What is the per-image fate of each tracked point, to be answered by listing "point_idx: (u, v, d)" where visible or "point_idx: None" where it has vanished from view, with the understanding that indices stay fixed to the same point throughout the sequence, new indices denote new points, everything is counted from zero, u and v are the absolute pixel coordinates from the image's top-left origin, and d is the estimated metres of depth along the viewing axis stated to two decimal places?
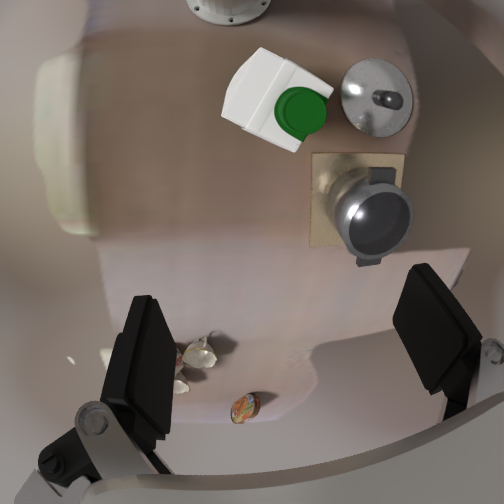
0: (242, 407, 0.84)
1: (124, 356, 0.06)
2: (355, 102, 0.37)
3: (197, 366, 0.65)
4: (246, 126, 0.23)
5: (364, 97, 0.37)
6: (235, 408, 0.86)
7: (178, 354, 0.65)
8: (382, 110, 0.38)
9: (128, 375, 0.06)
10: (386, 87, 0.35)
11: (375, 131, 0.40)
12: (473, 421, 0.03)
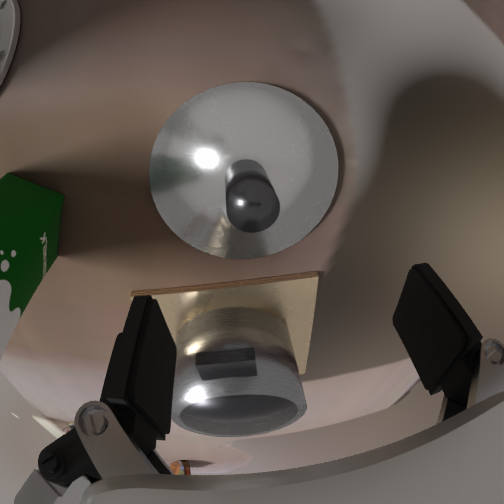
0: (176, 470, 0.67)
1: (124, 356, 0.06)
2: (186, 202, 0.20)
3: None
4: None
5: (205, 186, 0.19)
6: (172, 469, 0.70)
7: None
8: None
9: (127, 375, 0.06)
10: (262, 150, 0.18)
11: (243, 249, 0.23)
12: (473, 421, 0.03)
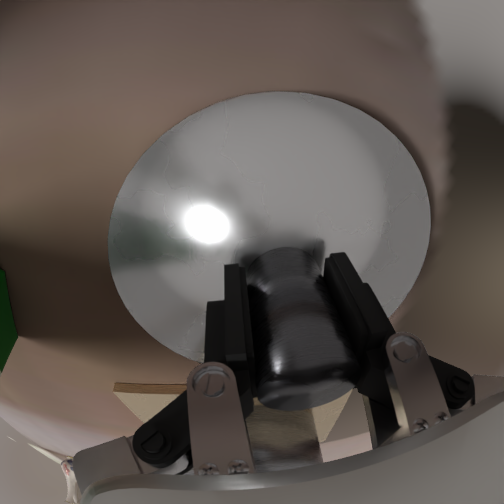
0: None
1: (234, 315, 0.08)
2: (178, 311, 0.12)
3: None
4: None
5: (210, 290, 0.11)
6: None
7: None
8: None
9: (243, 331, 0.07)
10: (317, 231, 0.10)
11: None
12: (473, 421, 0.03)
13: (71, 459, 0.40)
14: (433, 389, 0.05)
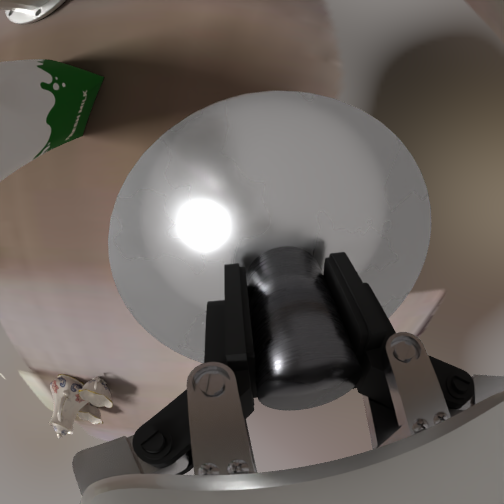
0: None
1: (234, 315, 0.08)
2: (179, 310, 0.12)
3: (97, 404, 0.49)
4: None
5: (210, 289, 0.11)
6: None
7: (79, 390, 0.49)
8: None
9: (244, 331, 0.07)
10: (318, 230, 0.10)
11: None
12: (473, 421, 0.03)
13: (62, 376, 0.50)
14: (433, 389, 0.05)
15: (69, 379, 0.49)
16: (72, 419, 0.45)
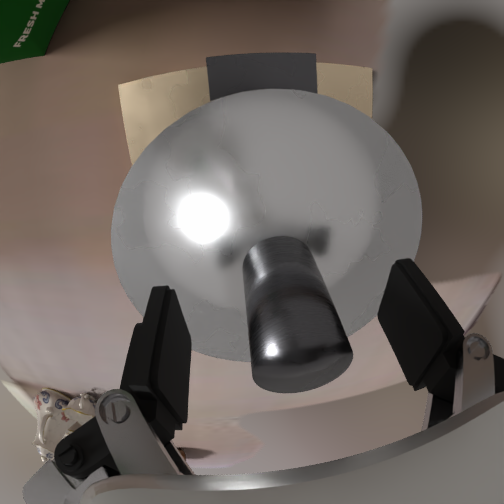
0: None
1: (146, 344, 0.07)
2: (178, 299, 0.12)
3: None
4: None
5: (208, 278, 0.12)
6: None
7: (65, 407, 0.38)
8: None
9: (150, 362, 0.06)
10: (311, 220, 0.11)
11: None
12: (473, 421, 0.03)
13: (46, 390, 0.38)
14: (488, 389, 0.04)
15: (54, 394, 0.38)
16: (59, 441, 0.33)
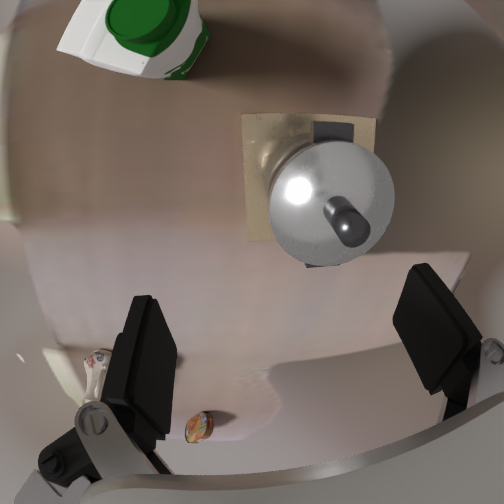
0: (195, 425, 0.70)
1: (124, 356, 0.06)
2: (293, 222, 0.28)
3: None
4: (80, 54, 0.12)
5: (309, 212, 0.27)
6: (190, 426, 0.73)
7: None
8: None
9: (128, 375, 0.06)
10: (350, 190, 0.26)
11: (325, 258, 0.31)
12: (473, 421, 0.03)
13: (98, 351, 0.53)
14: None
15: (107, 353, 0.53)
16: None
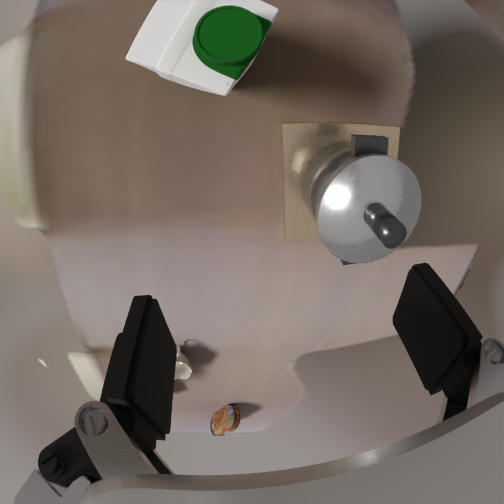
0: (221, 418, 0.75)
1: (124, 356, 0.06)
2: (338, 226, 0.30)
3: None
4: (156, 66, 0.14)
5: (352, 217, 0.30)
6: (215, 419, 0.77)
7: None
8: None
9: (127, 374, 0.06)
10: (386, 197, 0.29)
11: (362, 257, 0.33)
12: (473, 421, 0.03)
13: None
14: None
15: None
16: None
